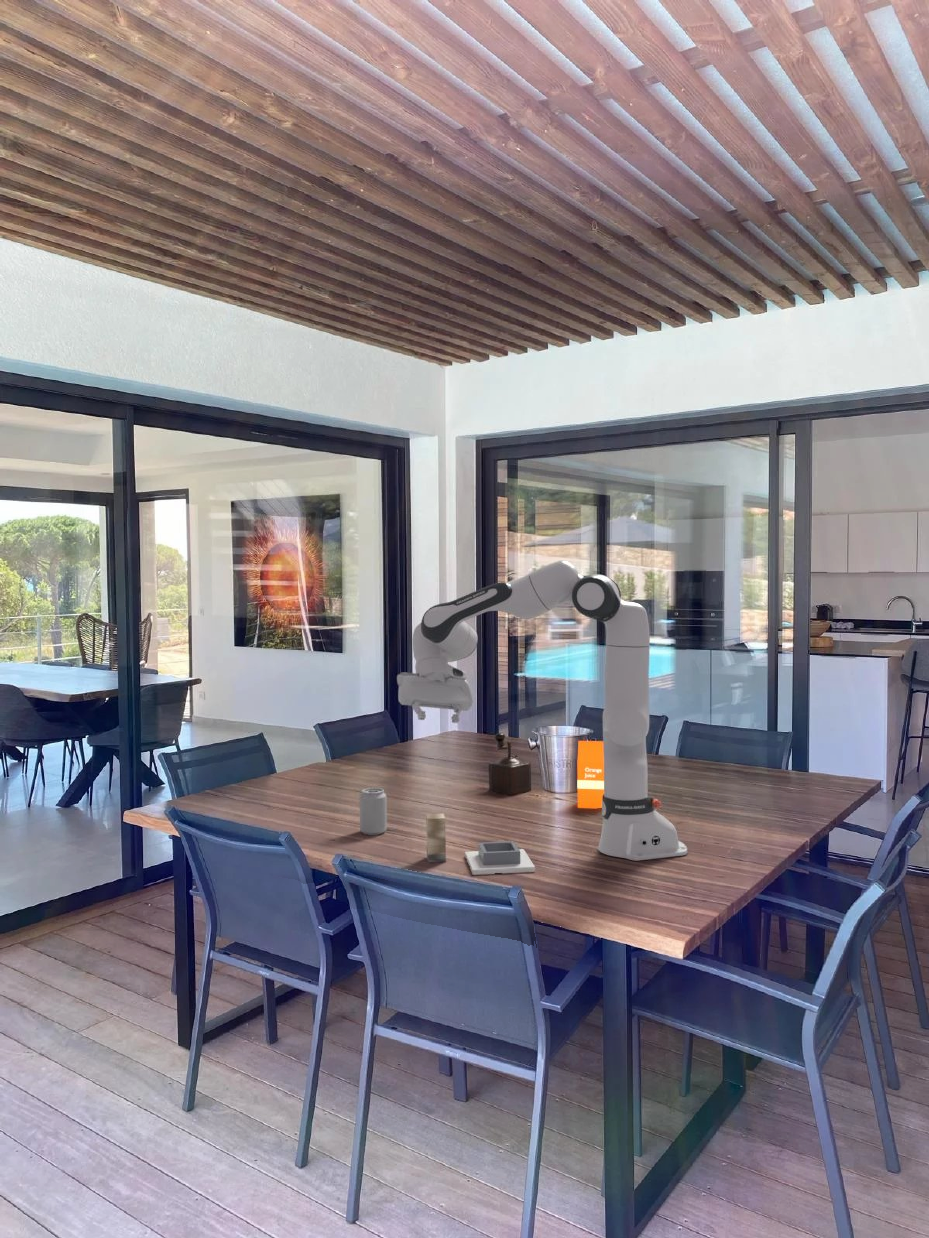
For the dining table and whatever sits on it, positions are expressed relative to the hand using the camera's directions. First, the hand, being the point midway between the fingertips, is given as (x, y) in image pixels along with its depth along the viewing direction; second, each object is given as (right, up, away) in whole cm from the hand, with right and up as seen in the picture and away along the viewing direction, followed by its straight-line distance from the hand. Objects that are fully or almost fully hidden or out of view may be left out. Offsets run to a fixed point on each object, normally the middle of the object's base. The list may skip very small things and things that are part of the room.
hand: (439, 720), depth 239 cm
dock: (+15, -34, -11) cm, 39 cm away
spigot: (-1, -34, -7) cm, 35 cm away
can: (-19, -34, +19) cm, 43 cm away
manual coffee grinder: (+20, -31, +70) cm, 79 cm away
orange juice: (+46, -32, +47) cm, 73 cm away
